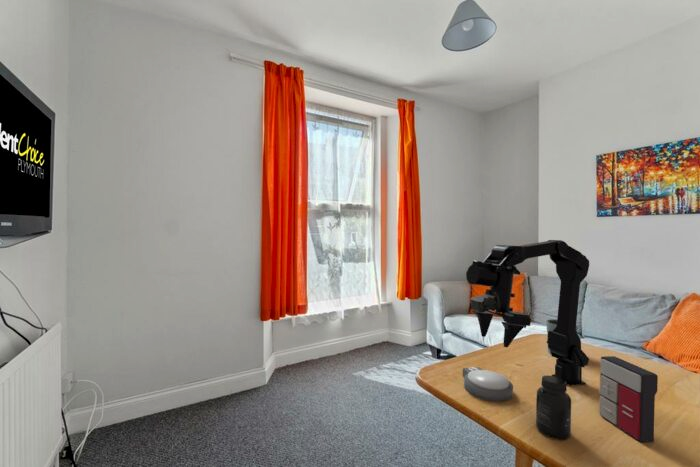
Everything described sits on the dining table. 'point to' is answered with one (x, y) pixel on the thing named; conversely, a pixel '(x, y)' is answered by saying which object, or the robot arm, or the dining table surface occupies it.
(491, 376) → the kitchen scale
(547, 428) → the supplement bottle
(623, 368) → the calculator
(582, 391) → the dining table surface
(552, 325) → the drinking glass
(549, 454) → the dining table surface
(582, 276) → the robot arm
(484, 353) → the dining table surface
